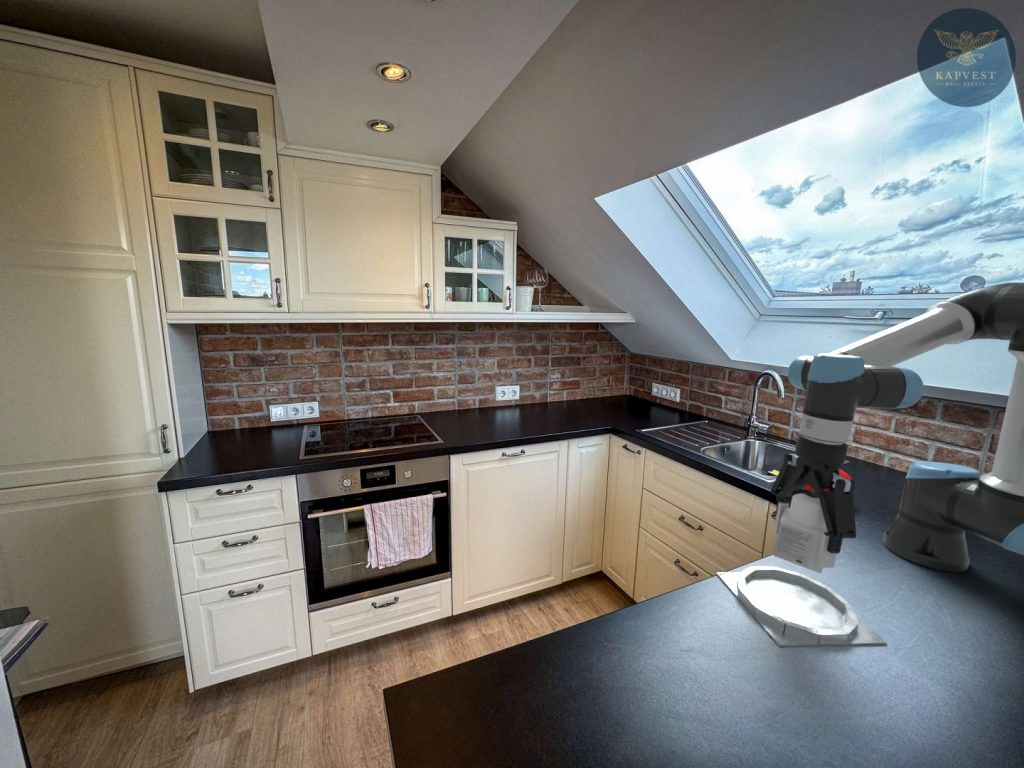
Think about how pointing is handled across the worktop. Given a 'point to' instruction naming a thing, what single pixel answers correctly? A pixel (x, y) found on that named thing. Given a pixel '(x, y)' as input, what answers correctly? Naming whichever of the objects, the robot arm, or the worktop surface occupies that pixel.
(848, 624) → the duct collar
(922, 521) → the robot arm
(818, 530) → the container
